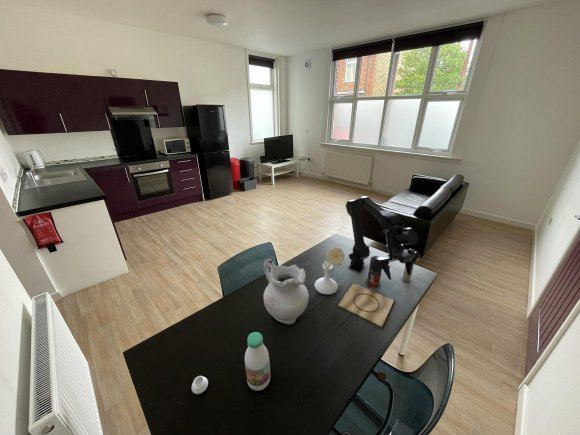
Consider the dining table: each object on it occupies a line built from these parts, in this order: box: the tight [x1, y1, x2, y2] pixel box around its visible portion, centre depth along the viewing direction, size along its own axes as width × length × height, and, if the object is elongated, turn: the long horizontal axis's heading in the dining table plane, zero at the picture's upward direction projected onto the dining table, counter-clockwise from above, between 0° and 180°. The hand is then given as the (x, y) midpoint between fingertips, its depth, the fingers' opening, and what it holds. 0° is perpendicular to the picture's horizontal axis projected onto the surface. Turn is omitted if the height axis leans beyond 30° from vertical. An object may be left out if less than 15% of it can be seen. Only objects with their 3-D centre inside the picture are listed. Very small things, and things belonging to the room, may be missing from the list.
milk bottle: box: [244, 331, 271, 391], centre depth 76 cm, size 8×8×20 cm
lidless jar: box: [191, 375, 209, 395], centre depth 77 cm, size 5×3×5 cm
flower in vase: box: [314, 246, 345, 295], centre depth 113 cm, size 13×11×25 cm
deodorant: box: [366, 255, 383, 289], centre depth 119 cm, size 6×6×15 cm
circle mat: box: [337, 282, 395, 328], centre depth 110 cm, size 20×18×1 cm
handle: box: [402, 259, 420, 283], centre depth 121 cm, size 5×6×15 cm
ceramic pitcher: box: [263, 258, 310, 325], centre depth 101 cm, size 22×20×25 cm
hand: (399, 277), depth 106 cm, fingers open, 9 cm apart
